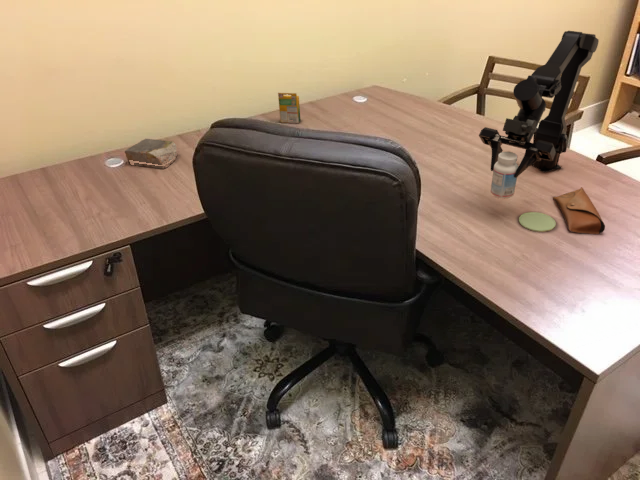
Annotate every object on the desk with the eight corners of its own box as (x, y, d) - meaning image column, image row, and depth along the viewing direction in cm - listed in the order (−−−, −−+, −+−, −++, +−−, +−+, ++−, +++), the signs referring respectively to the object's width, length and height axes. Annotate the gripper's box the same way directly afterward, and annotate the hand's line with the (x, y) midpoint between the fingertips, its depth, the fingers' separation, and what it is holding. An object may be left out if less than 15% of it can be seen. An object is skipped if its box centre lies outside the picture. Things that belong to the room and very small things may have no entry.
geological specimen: (141, 137, 185) (178, 139, 180) (146, 154, 188) (182, 156, 184) (122, 149, 177) (160, 152, 172) (127, 166, 180) (165, 169, 175)
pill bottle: (513, 189, 143) (520, 150, 137) (514, 200, 138) (521, 161, 132) (490, 187, 144) (495, 149, 138) (489, 198, 140) (495, 159, 133)
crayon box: (300, 120, 205) (298, 90, 198) (298, 123, 202) (296, 93, 196) (282, 119, 206) (279, 90, 200) (280, 122, 204) (277, 92, 197)
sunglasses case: (550, 196, 149) (567, 177, 145) (570, 207, 151) (587, 189, 147) (569, 232, 134) (589, 212, 131) (591, 244, 136) (611, 225, 132)
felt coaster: (539, 210, 144) (540, 209, 144) (563, 227, 137) (563, 225, 137) (511, 217, 142) (511, 216, 142) (533, 235, 135) (533, 233, 135)
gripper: (486, 97, 136) (461, 152, 135) (561, 112, 125) (533, 172, 125) (496, 116, 145) (472, 168, 144) (566, 132, 135) (540, 188, 134)
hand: (503, 173), depth 137 cm, fingers closed on pill bottle, 6 cm apart
